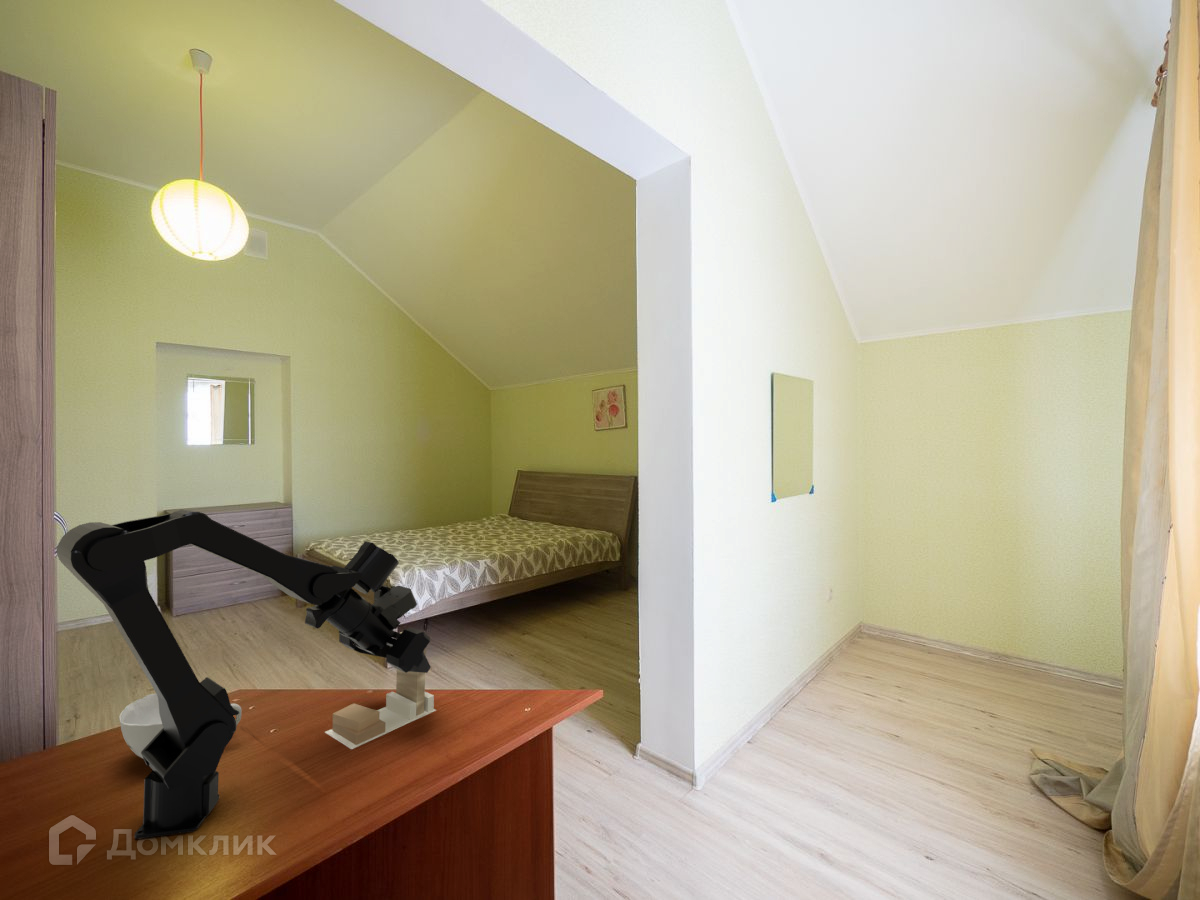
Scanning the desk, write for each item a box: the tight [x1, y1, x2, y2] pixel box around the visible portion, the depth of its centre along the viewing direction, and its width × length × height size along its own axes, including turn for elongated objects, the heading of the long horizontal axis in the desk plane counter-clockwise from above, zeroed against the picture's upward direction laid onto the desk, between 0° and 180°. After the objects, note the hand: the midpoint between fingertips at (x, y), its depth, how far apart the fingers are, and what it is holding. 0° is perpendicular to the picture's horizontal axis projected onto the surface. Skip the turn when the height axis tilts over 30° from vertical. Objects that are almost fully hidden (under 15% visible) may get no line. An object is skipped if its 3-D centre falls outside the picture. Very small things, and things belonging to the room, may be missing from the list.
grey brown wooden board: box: [395, 631, 427, 716], centre depth 93 cm, size 2×6×13 cm, turn 54°
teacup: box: [118, 692, 243, 759], centre depth 80 cm, size 15×12×8 cm
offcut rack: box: [324, 691, 437, 750], centre depth 89 cm, size 16×8×4 cm, turn 145°
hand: (412, 663), depth 94 cm, fingers open, 9 cm apart
